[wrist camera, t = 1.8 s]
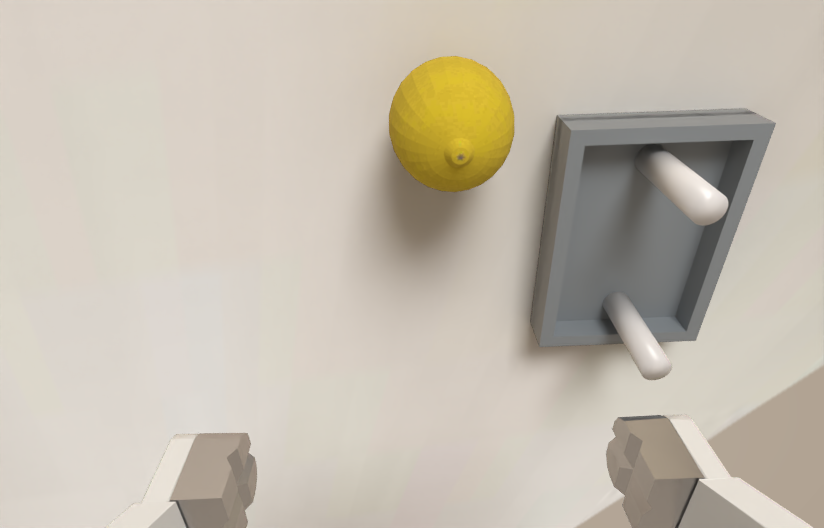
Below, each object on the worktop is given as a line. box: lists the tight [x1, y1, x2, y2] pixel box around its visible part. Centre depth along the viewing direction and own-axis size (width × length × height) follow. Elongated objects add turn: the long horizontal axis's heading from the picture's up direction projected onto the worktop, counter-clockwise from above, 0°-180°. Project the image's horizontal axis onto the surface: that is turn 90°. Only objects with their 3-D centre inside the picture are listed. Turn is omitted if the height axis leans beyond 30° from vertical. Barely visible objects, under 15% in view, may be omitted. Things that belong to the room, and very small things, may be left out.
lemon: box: [389, 56, 514, 192], centre depth 23 cm, size 6×6×8 cm
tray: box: [530, 109, 776, 380], centre depth 27 cm, size 14×10×7 cm
